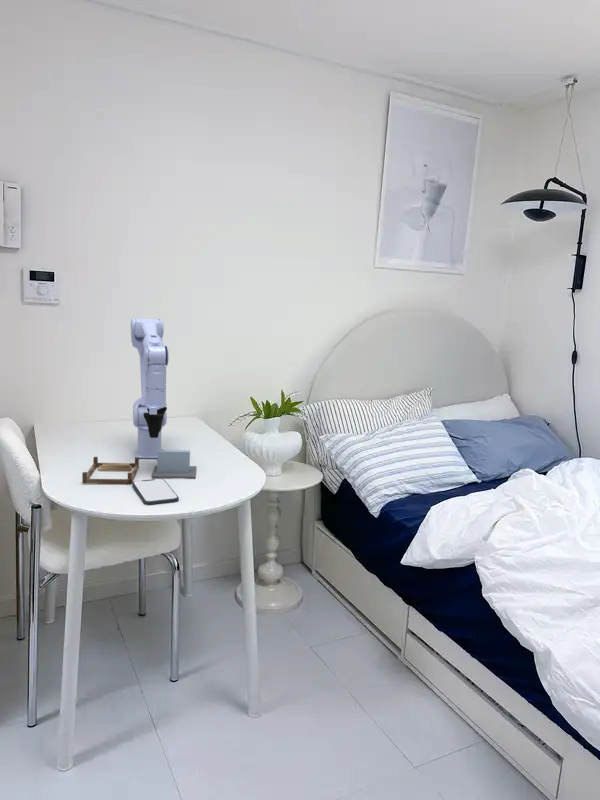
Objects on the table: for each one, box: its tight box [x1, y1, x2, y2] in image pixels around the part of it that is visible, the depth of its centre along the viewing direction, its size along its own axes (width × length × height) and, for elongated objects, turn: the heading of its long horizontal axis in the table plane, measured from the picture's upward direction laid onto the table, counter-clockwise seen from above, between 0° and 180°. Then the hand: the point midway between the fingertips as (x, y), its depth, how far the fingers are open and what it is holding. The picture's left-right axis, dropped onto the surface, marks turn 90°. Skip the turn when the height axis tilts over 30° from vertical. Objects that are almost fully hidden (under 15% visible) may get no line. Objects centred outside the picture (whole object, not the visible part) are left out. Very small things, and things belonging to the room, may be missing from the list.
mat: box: [151, 465, 197, 480], centre depth 169 cm, size 10×12×1 cm
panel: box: [156, 449, 191, 472], centre depth 169 cm, size 2×9×6 cm, turn 98°
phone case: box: [131, 478, 180, 506], centre depth 152 cm, size 9×2×16 cm
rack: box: [81, 456, 140, 485], centre depth 164 cm, size 16×13×3 cm
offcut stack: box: [97, 462, 133, 472], centre depth 169 cm, size 3×9×2 cm, turn 98°
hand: (155, 434), depth 170 cm, fingers open, 7 cm apart
